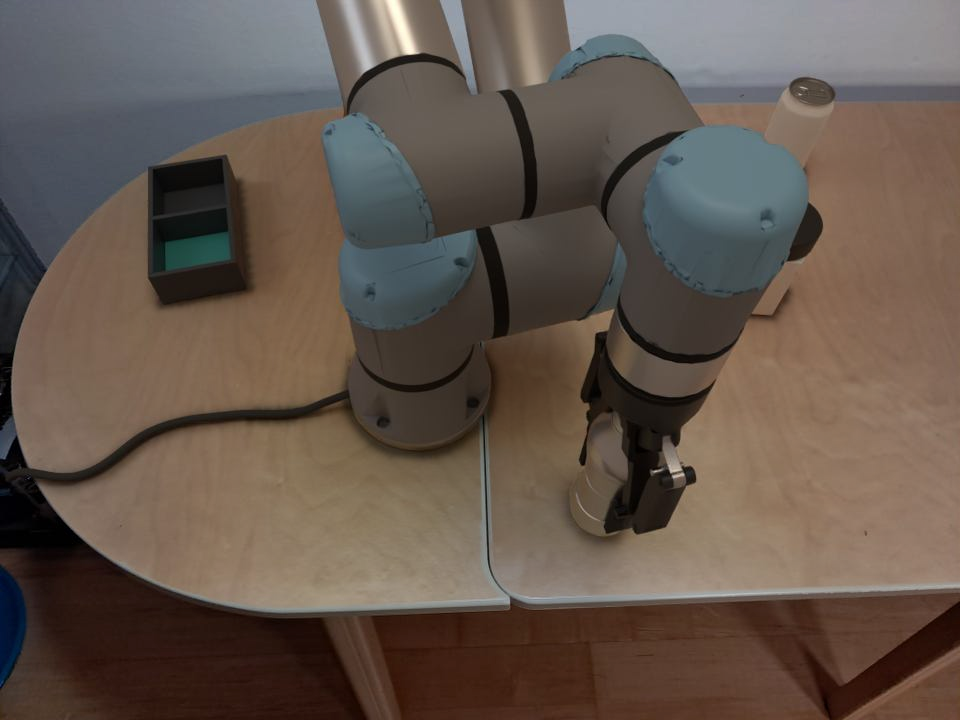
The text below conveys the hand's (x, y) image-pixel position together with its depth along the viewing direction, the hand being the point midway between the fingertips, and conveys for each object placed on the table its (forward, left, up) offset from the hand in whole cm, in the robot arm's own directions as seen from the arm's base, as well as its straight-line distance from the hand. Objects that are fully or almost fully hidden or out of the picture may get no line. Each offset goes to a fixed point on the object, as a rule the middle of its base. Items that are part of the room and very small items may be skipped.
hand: (605, 492), depth 65 cm
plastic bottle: (0, 0, -5) cm, 5 cm away
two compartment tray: (-36, +46, -4) cm, 59 cm away
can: (+41, +41, -5) cm, 58 cm away
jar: (+27, +22, -5) cm, 35 cm away
